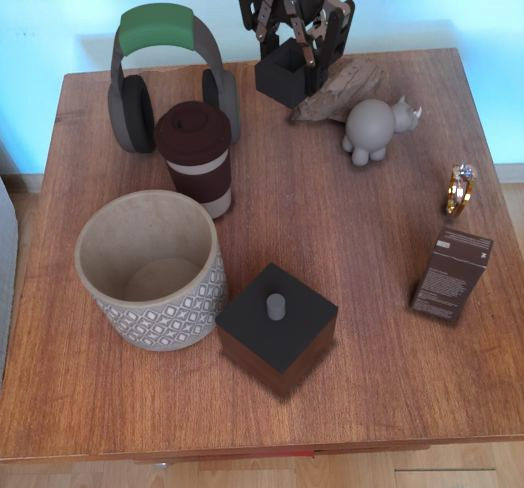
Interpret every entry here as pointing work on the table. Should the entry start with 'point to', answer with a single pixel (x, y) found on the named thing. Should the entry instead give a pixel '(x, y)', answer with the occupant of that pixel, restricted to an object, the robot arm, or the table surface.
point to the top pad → (283, 74)
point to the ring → (460, 188)
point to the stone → (342, 91)
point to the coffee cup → (197, 153)
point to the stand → (269, 374)
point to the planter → (154, 268)
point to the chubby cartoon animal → (376, 128)
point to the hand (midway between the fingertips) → (291, 80)
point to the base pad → (279, 332)
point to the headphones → (134, 88)
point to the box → (451, 273)
